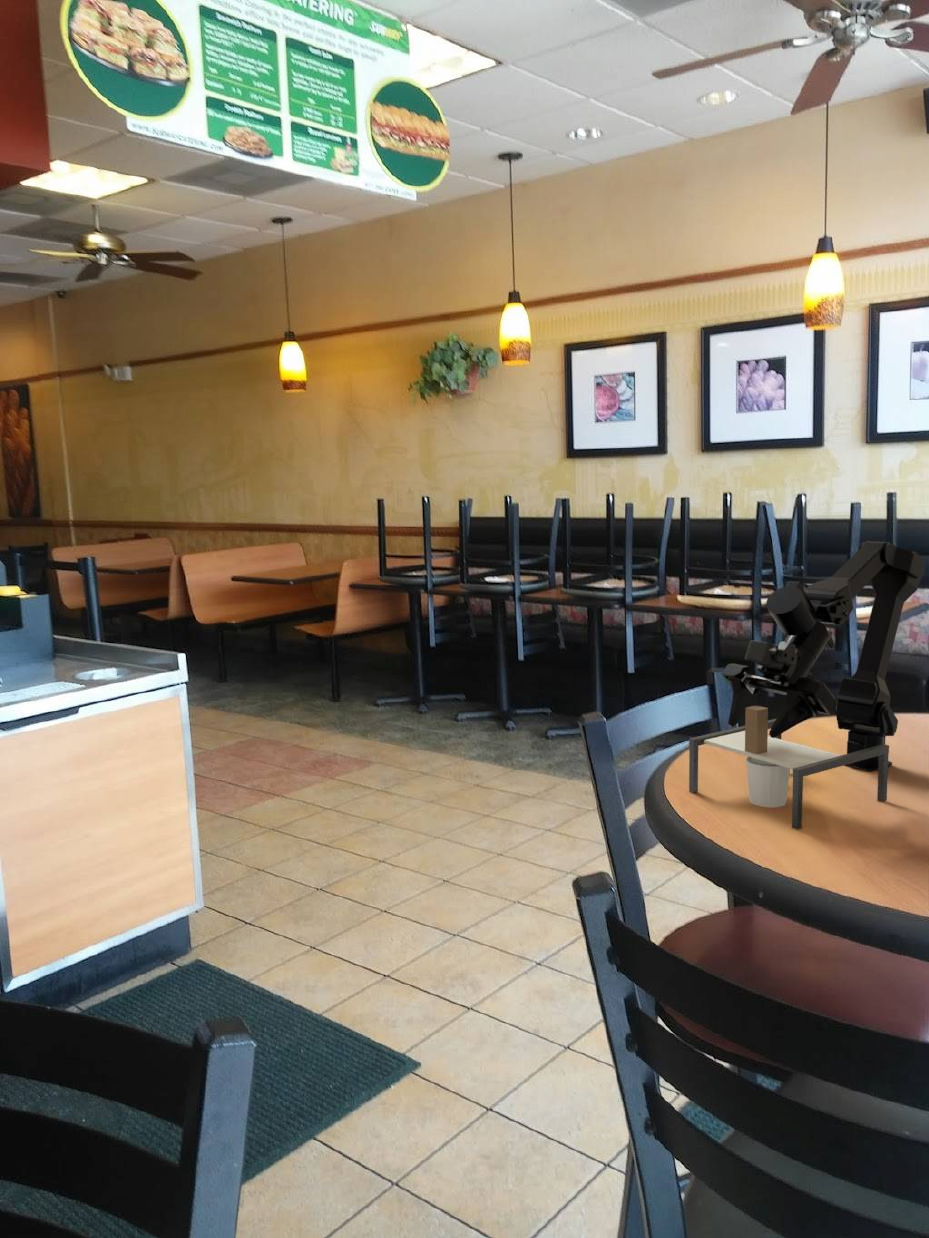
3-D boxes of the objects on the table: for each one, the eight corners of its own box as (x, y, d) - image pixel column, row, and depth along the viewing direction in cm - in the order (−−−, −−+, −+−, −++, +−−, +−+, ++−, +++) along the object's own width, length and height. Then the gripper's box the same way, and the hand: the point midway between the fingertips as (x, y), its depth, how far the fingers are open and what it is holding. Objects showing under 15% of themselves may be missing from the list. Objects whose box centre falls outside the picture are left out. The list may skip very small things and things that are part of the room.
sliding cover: (746, 733, 171) (746, 689, 169) (842, 759, 155) (844, 711, 153) (704, 743, 165) (704, 698, 164) (799, 771, 149) (800, 721, 148)
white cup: (792, 809, 157) (793, 766, 156) (747, 807, 158) (747, 764, 157) (787, 795, 163) (788, 753, 162) (744, 793, 165) (744, 752, 164)
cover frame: (776, 768, 178) (777, 718, 177) (887, 800, 160) (889, 745, 158) (688, 791, 167) (689, 738, 165) (796, 829, 148) (798, 770, 147)
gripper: (730, 614, 165) (680, 690, 161) (825, 628, 149) (773, 712, 145) (762, 656, 170) (715, 729, 166) (857, 673, 155) (808, 755, 150)
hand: (750, 730), depth 157 cm, fingers open, 8 cm apart
